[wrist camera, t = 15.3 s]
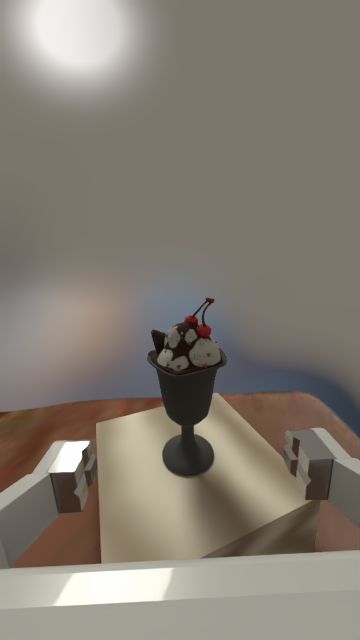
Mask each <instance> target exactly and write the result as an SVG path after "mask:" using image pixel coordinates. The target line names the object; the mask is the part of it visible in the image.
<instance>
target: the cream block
mask: <svg viewBox="0 0 360 640" xmlns="http://www.w3.org/2000/svg"><path fill="white" fill-rule="evenodd" d="M96 432H97V458H98V485H99V511H100V537H101V563H102V564H106V563H125V562H144V561H163V560H183V559H202V558H221V557H240V556H259V555H278V554H296V553H314V546H315V538H316V531H317V523H318V516H319V508H320V501H321V500H305V499H304V498H303V496H302V494H301V492H300V490H299V489H298V487H297V485H296V477H294V476H293V475H292V474H290V472H289V470H288V468H287V466H286V463H285V460H284V459H283V458H282V457H281V456H280V455H279V454H278V453H277V452H276V451H275V450H274V449H273V448H272V447H271V446H270V445H269V444H268V443H267V442H266V441H265V440H264V439H263V438H262V437H261V436H260V435H259V434H258V433H257V432H256V431H255V430H254V429H253V428H252V427H251V426H250V425H249V424H248V423H247V422H246V421H245V420H244V419H243V418H242V417H241V416H240V415H239V414H238V413H237V412H236V411H235V410H234V409H233V408H232V407H231V406H230V405H229V404H228V403H227V402H226V401H225V400H224V399H223V398H222V397H221V396H220V395H219V394H218V393H214V394H212V401H211V405H210V409H209V413H208V416H207V417H206V418H205V419H203V420H202V421H201V422H200V423H198V424H196V425H194V434H197V435H199V436H201V437H203V438H205V439H206V440H207V441H208V442H209V443H210V444H211V446H212V448H213V451H214V459H213V462H212V464H211V465H210V467H209V468H208V469H207V470H205V471H204V472H202V473H199V474H197V475H191V476H185V475H180V474H177V473H175V472H173V471H172V470H170V469H169V468H168V467H167V466H166V465H165V463H164V461H163V458H162V451H163V448H164V446H165V444H166V443H167V442H168V441H169V440H170V439H171V438H172V437H175V436H177V435H180V434H181V426H180V425H178V424H177V423H175V422H174V421H173V420H171V419H170V418H169V417H168V415H167V413H166V410H165V407H164V406H163V407H159V408H155V409H151V410H147V411H143V412H139V413H135V414H132V415H128V416H124V417H120V418H116V419H112V420H108V421H104V422H100V423H96Z"/></svg>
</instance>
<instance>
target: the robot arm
mask: <svg viewBox="0 0 360 640" xmlns="http://www.w3.org/2000/svg"><path fill="white" fill-rule="evenodd" d="M284 439H285V440H286V442H287V444H286V445H285V447H284V460H285V463H286V466H287V468H288V470H289V472H290V474H292V475H293V476H294V477H296V485H297V487H298V489H299V490H300V492H301V494H302V496H303V498H304V499H305V500H328V502H330V503H331V504H332V505H333V506H334V507H335V508H337V509H338V510H339V511H340V512H341V513H342V514H344V515H345V516H346V517H347V518H348V519H349V520H351V521H352V522H353V523H354V524H355V525H357V526H358V527H359V528H360V460H358V459H356V458H351V457H350V456H349V455H348V454H347V453H346V452H345V451H344V449H343V448H342V447H341V446H340V445H339V444H338V443H337V442H336V441H335V440H334V439H333V437H332V436H331V435H330V434H329V433H328V432H327V431H326V430H325V429H323V428H312V429H300V430H286V432H285V438H284ZM94 448H95V447H94V441H92V440H68V441H56V442H54V443H53V444H52V445H51V447H50V448H49V450H48V451H47V453H46V454H45V455H44V457H43V458H42V460H41V461H40V463H39V464H38V466H37V467H36V468H35V470H34V471H33V473H32V474H28V475H26V476H25V477H23V478H22V479H20V480H19V481H17V482H16V483H15V484H13V485H12V486H10V487H9V488H7V489H6V490H4V491H3V492H1V493H0V640H360V550H354V551H334V552H315V553H296V554H278V555H259V556H240V557H221V558H202V559H183V560H163V561H144V562H125V563H106V564H87V565H68V566H49V567H30V568H11V569H10V567H11V566H12V565H13V564H14V563H15V562H16V561H17V560H18V558H19V557H20V556H21V555H22V554H23V553H24V552H25V551H26V550H27V549H28V548H29V547H30V545H31V544H32V543H33V542H34V541H35V540H36V539H37V538H38V537H39V536H40V535H41V534H42V533H43V531H44V530H45V529H46V528H47V527H48V526H49V525H50V524H51V523H52V522H53V521H54V520H55V518H56V517H57V516H58V515H59V514H60V513H72V512H82V510H83V507H84V505H85V502H86V500H87V497H88V487H89V486H90V485H91V484H92V483H93V481H94V478H95V475H96V469H97V460H96V456H95V455H94V454H93V451H94Z"/></svg>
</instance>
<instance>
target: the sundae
mask: <svg viewBox="0 0 360 640" xmlns="http://www.w3.org/2000/svg"><path fill="white" fill-rule="evenodd" d="M207 302H209V304H208V305H207V306H206V307H205V309H204V311H203V314H202V323H203V324H201V325H198V319H197V318H196V317H195V315H196V314H197V313H198V312H199V310H200V309H201V308H202V307H203V305H204V304H206V303H207ZM213 302H214V299H210V298H206V301H205V302H204V303H203V305H202V306H201V307H200V308H199V309H198V310H197V311H196V312H195V313H194V315H193V316H187V317H186V318H185V321H184V322H183V323H179V324H177V325H175V326H173V327H172V328H171V329H170V330H169V331H168V332H167V333H166V334H165V333H163V332H160V331H157V330H152V331H151V334H152V338H153V342H154V345H155V348H156V350H153V351H150V352H149V353H148V355H149V356H148V357H147V360H148V361H149V363H150V364H151V365H152V366H153V367H155V368H156V370H157V374H158V378H159V383H160V388H161V393H162V399H163V403H164V407H165V410H166V413H167V415H168V417H169V418H170V419H171V420H173V421H174V422H175V423H177V424H178V425H180V426H181V434H180V435H177V436H175V437H172V438H171V439H170V440H169V441H168V442H167V443H166V444H165V446H164V448H163V451H162V458H163V461H164V463H165V465H166V466H167V467H168V468H169V469H170V470H172V471H173V472H175V473H177V474H180V475H185V476H191V475H197V474H199V473H202V472H204V471H205V470H207V469H208V468H209V467H210V465H211V464H212V462H213V459H214V451H213V448H212V446H211V444H210V443H209V442H208V441H207V440H206V439H205V438H203V437H201V436H199V435H197V434H194V425H196V424H198V423H200V422H201V421H202V420H203V419H205V418H206V417H207V416H208V413H209V409H210V405H211V401H212V394H213V387H214V380H215V376H216V372H217V369H218V368H220V367H222V366H224V365H225V364H226V361H227V360H226V356H225V354H224V352H223V351H222V350H221V349H220V348H218V347H217V344H216V343H217V342H216V341H214V340H213V339H212V338H211V337H210V336H209V335H210V333H211V328H210V327H209V326H208V325H206V324H205V322H204V313H205V310H206V309H207V307H208V306H209V305H210V304H211V303H213Z"/></svg>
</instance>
